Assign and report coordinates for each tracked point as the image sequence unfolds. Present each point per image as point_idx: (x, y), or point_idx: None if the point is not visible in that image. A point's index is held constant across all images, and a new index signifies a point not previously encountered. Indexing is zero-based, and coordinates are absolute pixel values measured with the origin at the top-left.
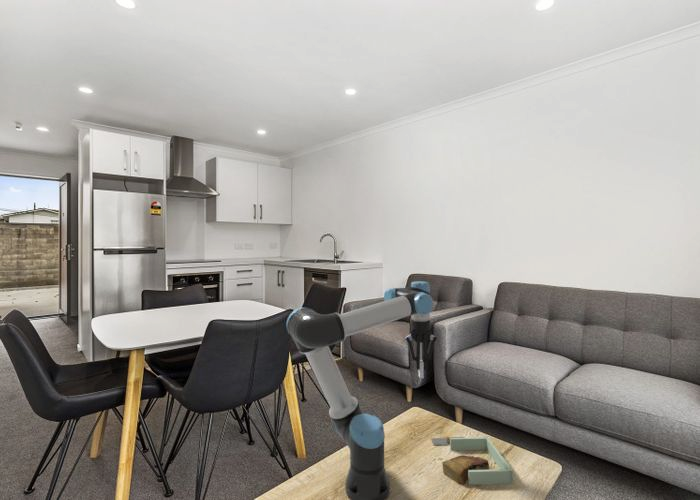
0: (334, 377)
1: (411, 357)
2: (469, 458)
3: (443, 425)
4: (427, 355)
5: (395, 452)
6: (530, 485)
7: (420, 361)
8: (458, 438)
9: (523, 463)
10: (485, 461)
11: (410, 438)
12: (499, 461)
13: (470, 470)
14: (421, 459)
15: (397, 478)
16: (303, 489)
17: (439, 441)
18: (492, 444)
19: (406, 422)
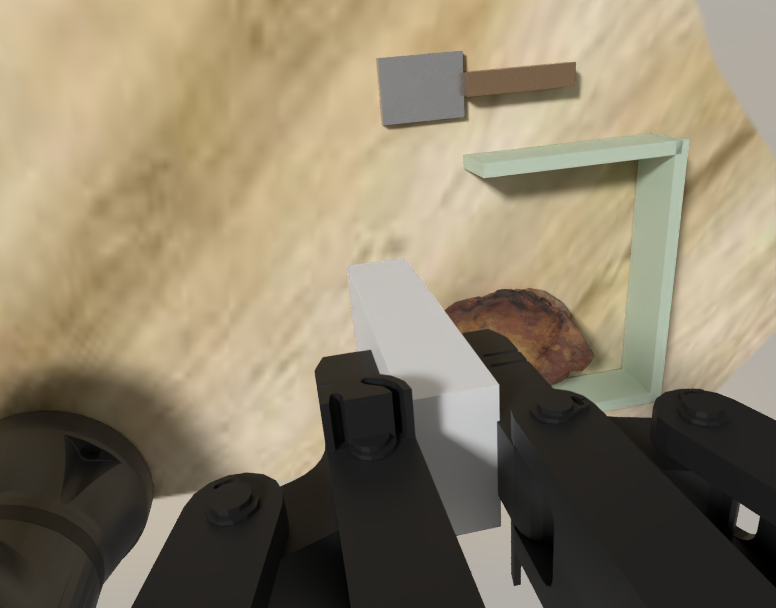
0: None
1: (185, 532)
2: (523, 333)
3: None
4: (724, 478)
5: (157, 212)
6: (682, 377)
7: (439, 486)
8: (529, 166)
9: (737, 247)
10: (582, 363)
11: (247, 46)
12: (644, 301)
13: None
14: (299, 262)
15: (181, 409)
16: None
17: (421, 93)
18: (677, 214)
19: None
